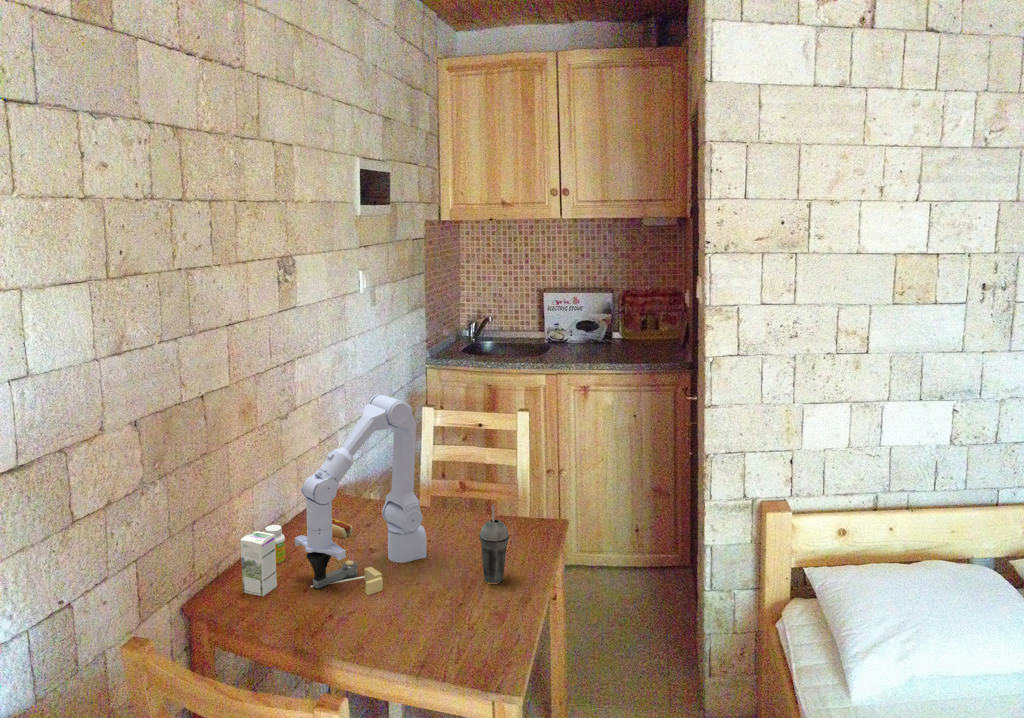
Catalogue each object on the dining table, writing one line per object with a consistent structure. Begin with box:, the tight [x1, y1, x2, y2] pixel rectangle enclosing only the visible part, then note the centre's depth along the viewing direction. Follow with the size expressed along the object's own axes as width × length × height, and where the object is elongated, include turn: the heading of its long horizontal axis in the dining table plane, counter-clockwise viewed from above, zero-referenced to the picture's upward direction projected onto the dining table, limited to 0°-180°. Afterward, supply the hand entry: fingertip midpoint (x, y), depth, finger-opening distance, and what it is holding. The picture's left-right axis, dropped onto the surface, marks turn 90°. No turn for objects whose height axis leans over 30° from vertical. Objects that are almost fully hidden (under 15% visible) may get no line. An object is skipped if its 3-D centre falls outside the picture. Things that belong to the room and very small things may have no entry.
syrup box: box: [240, 530, 278, 597], centre depth 192 cm, size 6×6×14 cm
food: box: [332, 517, 354, 539], centre depth 228 cm, size 14×6×5 cm, turn 54°
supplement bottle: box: [264, 524, 287, 565], centre depth 209 cm, size 5×5×10 cm
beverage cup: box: [478, 504, 510, 583], centre depth 202 cm, size 7×7×20 cm
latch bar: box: [312, 561, 358, 590], centre depth 198 cm, size 12×4×3 cm, turn 139°
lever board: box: [310, 560, 384, 596], centre depth 197 cm, size 16×18×5 cm
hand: (320, 580), depth 197 cm, fingers closed, pressing on latch bar
